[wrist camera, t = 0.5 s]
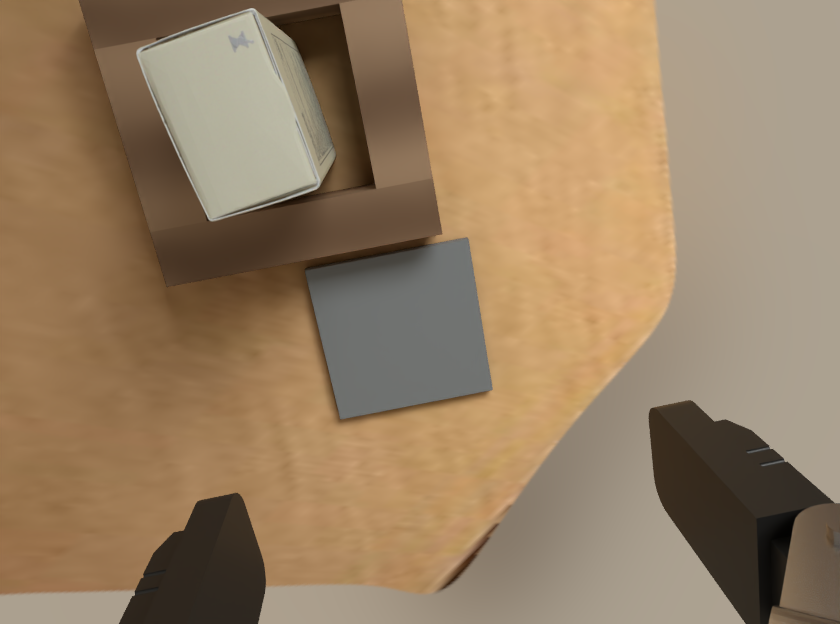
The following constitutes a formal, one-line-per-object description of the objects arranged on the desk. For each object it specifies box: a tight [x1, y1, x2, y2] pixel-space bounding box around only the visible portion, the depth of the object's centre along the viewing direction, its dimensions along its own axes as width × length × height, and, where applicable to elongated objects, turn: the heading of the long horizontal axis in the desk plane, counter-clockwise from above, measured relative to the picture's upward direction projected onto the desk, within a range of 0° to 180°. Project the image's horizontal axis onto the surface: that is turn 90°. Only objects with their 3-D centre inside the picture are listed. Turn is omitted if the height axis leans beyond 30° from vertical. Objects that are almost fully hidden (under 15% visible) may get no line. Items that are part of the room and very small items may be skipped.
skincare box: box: [136, 8, 336, 222], centre depth 28 cm, size 6×4×12 cm
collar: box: [79, 0, 442, 287], centre depth 32 cm, size 14×14×3 cm
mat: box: [305, 237, 493, 419], centre depth 37 cm, size 9×9×1 cm
